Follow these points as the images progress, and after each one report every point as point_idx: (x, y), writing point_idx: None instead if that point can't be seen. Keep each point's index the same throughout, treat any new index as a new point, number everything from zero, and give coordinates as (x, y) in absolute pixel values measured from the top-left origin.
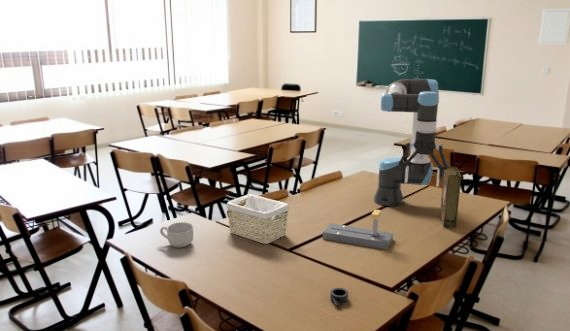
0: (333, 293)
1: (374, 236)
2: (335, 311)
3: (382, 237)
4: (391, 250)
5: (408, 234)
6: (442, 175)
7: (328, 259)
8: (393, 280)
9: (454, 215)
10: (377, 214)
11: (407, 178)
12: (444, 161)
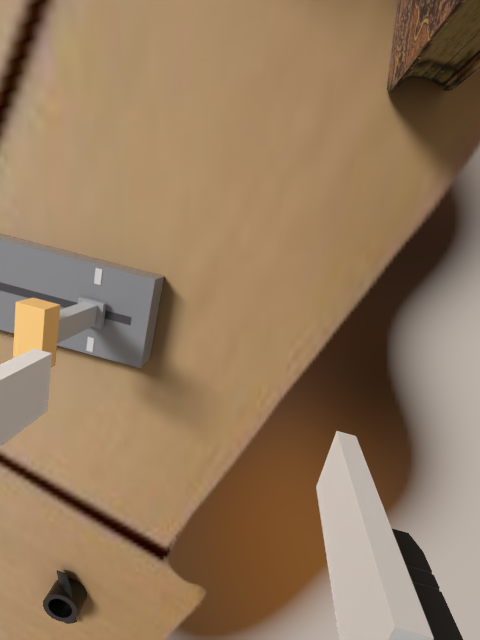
0: (50, 611)
1: None
2: None
3: (120, 326)
4: (162, 362)
5: (222, 214)
6: (423, 581)
7: None
8: (170, 522)
9: (470, 50)
10: None
11: (23, 391)
12: None
